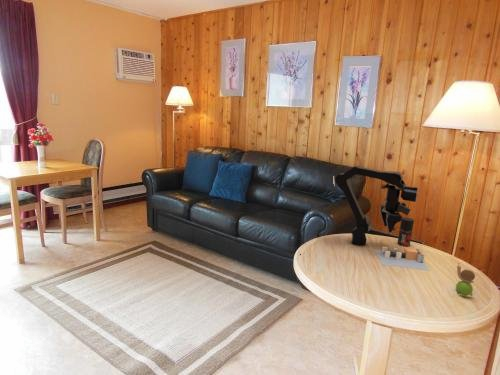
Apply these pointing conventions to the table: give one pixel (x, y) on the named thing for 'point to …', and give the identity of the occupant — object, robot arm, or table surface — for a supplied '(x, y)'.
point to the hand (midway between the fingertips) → (387, 229)
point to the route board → (400, 262)
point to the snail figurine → (465, 281)
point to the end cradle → (420, 256)
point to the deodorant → (405, 232)
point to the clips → (387, 253)
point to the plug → (407, 254)
